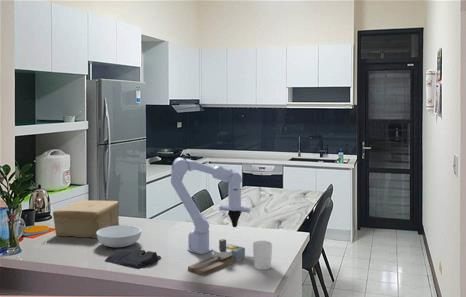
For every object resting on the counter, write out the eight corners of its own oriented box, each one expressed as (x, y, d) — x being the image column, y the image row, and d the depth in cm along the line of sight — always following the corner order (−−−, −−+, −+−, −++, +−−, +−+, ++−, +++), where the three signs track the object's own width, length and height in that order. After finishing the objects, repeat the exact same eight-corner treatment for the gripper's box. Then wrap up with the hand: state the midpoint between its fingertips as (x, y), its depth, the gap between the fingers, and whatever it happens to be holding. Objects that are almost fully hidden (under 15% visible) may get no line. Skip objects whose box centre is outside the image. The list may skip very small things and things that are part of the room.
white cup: (270, 263, 199) (270, 240, 198) (273, 270, 191) (273, 246, 190) (252, 263, 199) (252, 240, 198) (253, 270, 191) (253, 246, 190)
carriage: (213, 257, 202) (213, 240, 201) (221, 254, 205) (221, 237, 205) (224, 260, 198) (224, 243, 197) (232, 257, 202) (231, 240, 201)
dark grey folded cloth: (125, 252, 217) (124, 242, 216) (164, 259, 206) (164, 248, 206) (101, 262, 203) (101, 251, 203) (142, 271, 193) (141, 259, 192)
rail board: (187, 270, 192) (187, 264, 192) (220, 257, 207) (220, 251, 207) (203, 275, 186) (203, 269, 186) (236, 261, 202) (236, 255, 201)
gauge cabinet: (220, 257, 207) (220, 247, 207) (229, 253, 212) (229, 243, 211) (236, 261, 202) (236, 251, 201) (244, 257, 206) (244, 247, 206)
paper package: (79, 223, 266) (77, 198, 265) (121, 225, 261) (120, 200, 260) (52, 237, 240) (50, 210, 238) (99, 239, 235) (98, 212, 233)
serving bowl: (131, 253, 214) (130, 238, 213) (88, 250, 218) (88, 236, 217) (148, 239, 234) (148, 225, 233) (109, 237, 238) (108, 224, 238)
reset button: (226, 255, 206) (226, 246, 206) (232, 253, 209) (232, 244, 209) (233, 257, 204) (233, 248, 204) (238, 255, 207) (238, 246, 206)
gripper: (216, 198, 215) (217, 227, 216) (246, 200, 210) (247, 230, 211) (222, 195, 221) (222, 223, 223) (251, 197, 216) (251, 226, 218)
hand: (234, 226), depth 217 cm, fingers closed
